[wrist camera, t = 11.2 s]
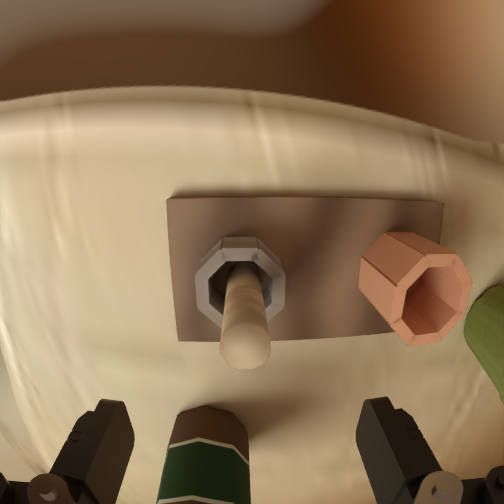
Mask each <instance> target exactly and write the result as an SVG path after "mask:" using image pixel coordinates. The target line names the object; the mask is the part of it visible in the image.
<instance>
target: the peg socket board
mask: <svg viewBox="0 0 504 504" xmlns="http://www.w3.org/2000/svg"><path fill="white" fill-rule="evenodd" d="M166 203H167V222H168V239H169V253H170V266H171V277H172V288H173V299H174V308H175V317H176V326H177V335H178V341H197V342H220V340H221V331H222V323H223V314H224V306H225V297H226V289H227V281H228V273H229V269H230V268H231V266H232V265H233V264H234V263H236V262H238V261H250V262H252V263H253V264H255V265H256V267H257V268H258V271H259V275H260V281H261V288H262V294H263V300H264V306H265V312H266V318H267V324H268V331H269V337H270V341H279V340H302V339H319V338H334V337H347V336H359V335H370V334H380V333H390V332H395V331H394V330H393V329H392V328H391V326H390V325H389V324H388V323H387V322H386V320H385V319H384V318H383V317H382V316H381V315H380V313H379V312H378V311H377V310H376V309H375V307H374V306H373V305H372V304H371V303H370V302H369V300H368V299H367V298H366V297H365V296H364V295H363V293H362V292H361V291H360V290H359V288H358V284H359V275H360V265H361V257H363V256H362V255H363V254H364V253H365V252H366V251H367V250H368V249H369V248H370V247H371V246H372V245H373V244H374V243H375V242H376V241H377V240H378V239H379V238H380V237H381V236H382V235H383V234H384V233H386V232H413V233H415V234H417V235H420V236H422V237H424V238H426V239H428V240H430V241H432V242H434V243H436V244H438V245H439V243H440V235H441V226H442V216H443V204H444V203H441V202H437V201H423V200H406V199H386V198H361V197H326V196H220V197H184V198H169V199H167V200H166Z"/></svg>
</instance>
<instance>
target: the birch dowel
mask: <svg viewBox="0 0 504 504" xmlns="http://www.w3.org/2000/svg"><path fill="white" fill-rule="evenodd" d="M270 352H271V343H270V337H269V331H268V324H267V318H266V312H265V306H264V300H263V294H262V288H261V281H260V275H259V271H258V268H257V267H256V265H255V264H253V263H252V262H250V261H238V262H236V263H234V264H233V265H232V266H231V268H230V269H229V273H228V281H227V289H226V297H225V306H224V314H223V323H222V331H221V340H220V353H221V356H222V358H223V359H224V360H225V362H226V363H228V364H229V365H230V366H232V367H235V368H238V369H253V368H256V367H258V366H260V365H262V364H263V363H264V362H265V361H266V360H267V359H268V357H269V355H270Z"/></svg>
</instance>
